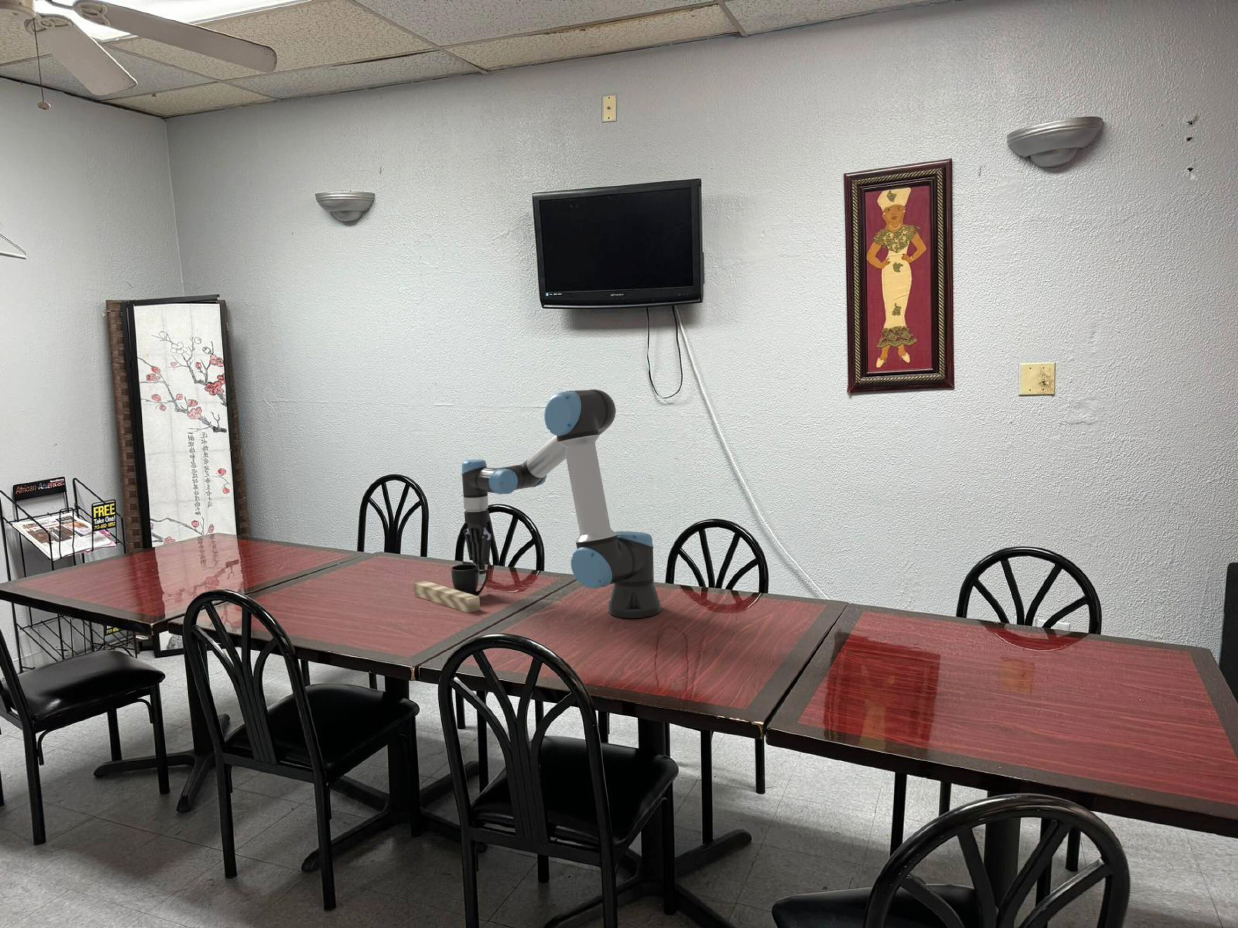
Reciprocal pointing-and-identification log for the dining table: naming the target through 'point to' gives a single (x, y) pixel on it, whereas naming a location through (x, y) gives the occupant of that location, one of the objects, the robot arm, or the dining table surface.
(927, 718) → the dining table surface
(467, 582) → the mug
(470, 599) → the wooden bar
